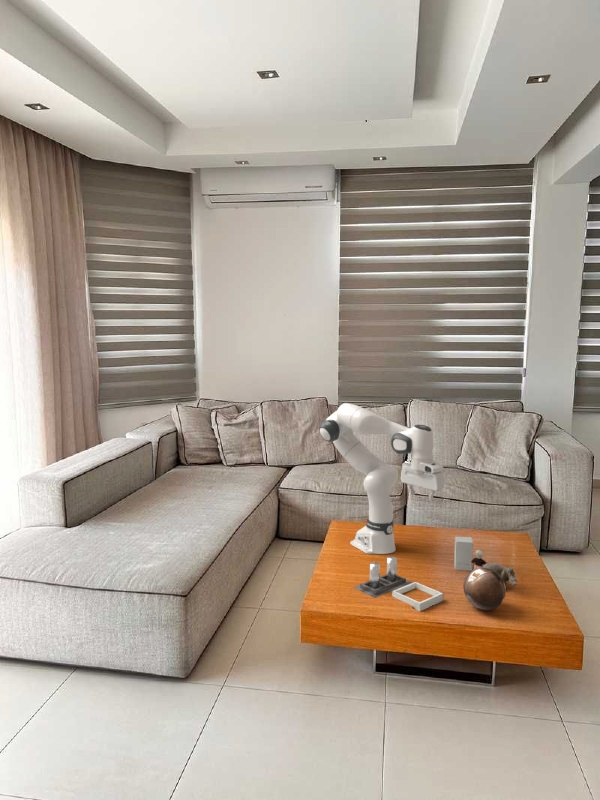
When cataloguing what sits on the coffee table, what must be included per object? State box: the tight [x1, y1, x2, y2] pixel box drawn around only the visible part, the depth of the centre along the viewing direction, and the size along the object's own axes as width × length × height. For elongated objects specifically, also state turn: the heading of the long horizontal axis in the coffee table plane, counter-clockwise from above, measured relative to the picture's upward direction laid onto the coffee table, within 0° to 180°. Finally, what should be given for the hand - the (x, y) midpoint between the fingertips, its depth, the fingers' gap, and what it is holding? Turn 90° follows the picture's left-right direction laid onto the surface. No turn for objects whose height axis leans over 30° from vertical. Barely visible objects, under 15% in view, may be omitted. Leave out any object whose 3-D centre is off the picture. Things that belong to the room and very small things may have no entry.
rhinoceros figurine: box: [482, 562, 519, 592], centre depth 242 cm, size 8×14×15 cm
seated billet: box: [369, 561, 381, 589], centre depth 238 cm, size 4×4×10 cm
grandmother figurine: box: [470, 549, 488, 570], centre depth 248 cm, size 8×4×13 cm, turn 69°
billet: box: [386, 555, 398, 582], centre depth 244 cm, size 4×4×10 cm
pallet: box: [353, 573, 414, 599], centre depth 242 cm, size 12×22×2 cm, turn 129°
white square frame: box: [391, 581, 444, 612], centre depth 230 cm, size 14×14×3 cm
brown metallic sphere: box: [463, 568, 507, 611], centre depth 223 cm, size 15×15×15 cm
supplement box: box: [453, 536, 474, 572], centre depth 261 cm, size 7×7×13 cm
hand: (421, 497), depth 249 cm, fingers open, 8 cm apart
